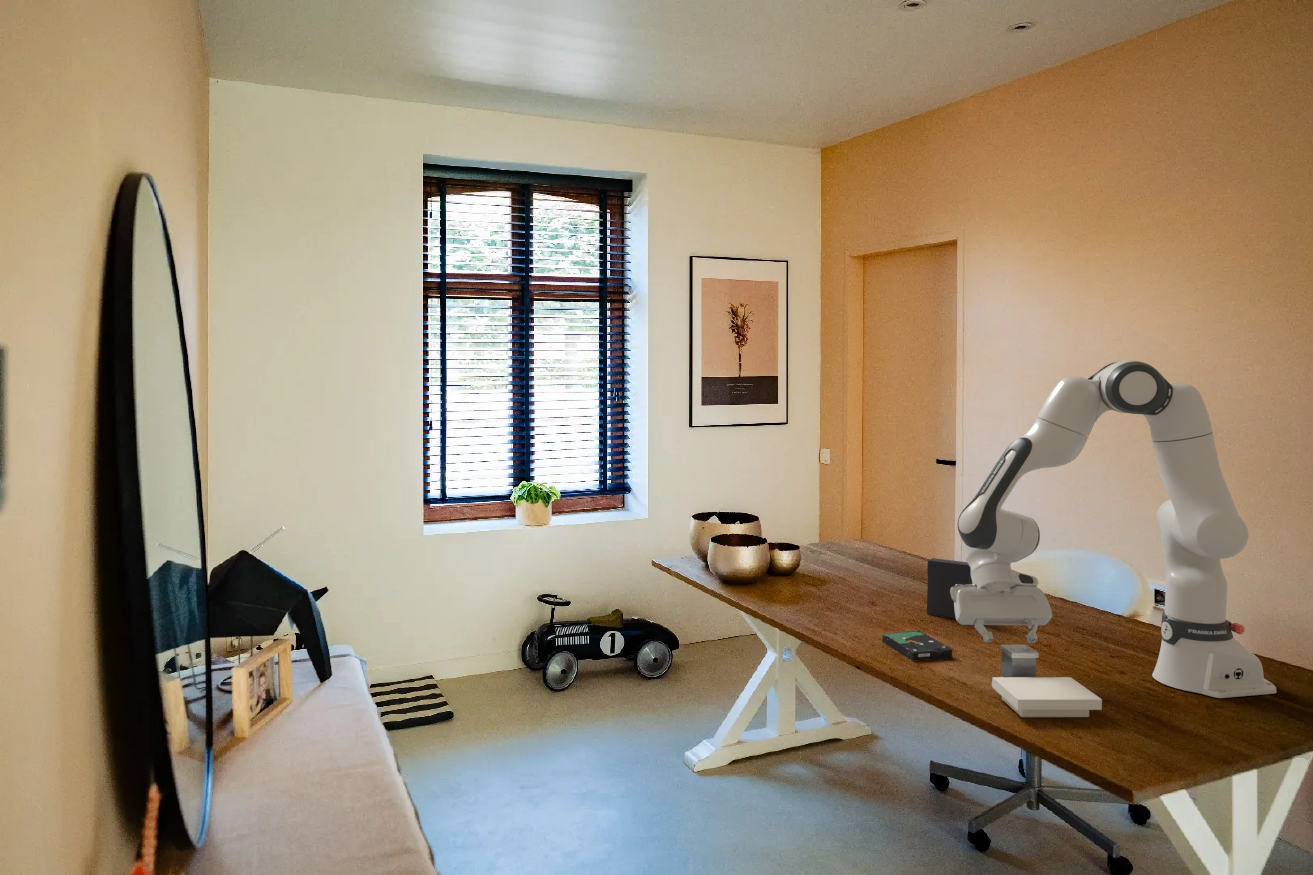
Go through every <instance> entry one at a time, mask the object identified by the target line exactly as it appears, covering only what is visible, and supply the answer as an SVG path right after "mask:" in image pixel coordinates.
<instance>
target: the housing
mask: <svg viewBox="0 0 1313 875" xmlns="http://www.w3.org/2000/svg"><path fill="white" fill-rule="evenodd" d="M999 648H1000V649H999V650H1001V674H1000V675H1001V676H1000V677H1037V674H1036V673H1037V672H1036V671H1037V659H1039V657H1040V656H1039V655H1040V654H1039V652H1038V651H1037V650H1034V648H1032V647H1031V646H1029V645H1028V644H999Z"/></svg>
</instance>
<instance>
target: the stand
mask: <svg viewBox="0 0 1313 875" xmlns="http://www.w3.org/2000/svg"><path fill="white" fill-rule="evenodd" d="M991 688H992V689H994V690H995V692H997V693H998V694H999V695H1000V696H1001V700H1002V701H1003V702H1004V703H1005V704H1007V705H1008V706H1009V707H1010V709H1012V710H1013V711H1014V712H1015V713H1017V715H1019V716H1020V717H1021V718H1089V717H1090V711H1102V709H1103V708H1102V707H1103V706H1102V705H1103V704H1102V703H1103V699H1102V698H1101V697H1099V696H1098V695H1096V694H1095V693H1093V692H1092V691H1091V690H1089V689H1088V688H1087V687H1085V686H1083V685H1082V684H1081V683H1079V682H1078V681H1076V680H1075V679H1074V678H1072V677H1071V676H1061V677H1060V676H1054V677H1051V676H1047V677H1046V676H1042V677H1041V676H1036V677H1001V676H998V677H997V676H996V677H994V676H993V677H992V679H991Z"/></svg>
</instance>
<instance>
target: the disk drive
mask: <svg viewBox="0 0 1313 875" xmlns="http://www.w3.org/2000/svg"><path fill="white" fill-rule="evenodd" d="M881 637H882V640H881V641H882V643H883V644H885V645H886V646H888V647H890V648H891V649H893V650H895V651H896V652H897V651H898V654H901V655H902V656H904V657H905V656H906V657H907V659H908V660H910V659H911V660H913V661H912V662H915V661H914V660H923V661H926V660H925V659H936V660H946V659H945V658H950V659H953V649H952V648H951V647H949V646H948V645H945V644H944V643H942V642H941V641H938V640H937V639H935V638H934V637H932V636H930V635H929V634H927V633H926V632H922V631H921V630H912V631H910V630H909V631H900V632H890V633H886V632H885V633H883V635H882V636H881ZM906 657H905V658H906ZM911 660H910V661H911Z"/></svg>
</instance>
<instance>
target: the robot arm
mask: <svg viewBox="0 0 1313 875" xmlns="http://www.w3.org/2000/svg"><path fill="white" fill-rule="evenodd" d="M1040 408H1041V409H1040V410H1039V413H1038V414H1037V416H1036V419H1035V421H1034V422H1033V424H1032V425H1031V426H1030V428H1029V429H1028V430H1027V431H1026V432H1025V434H1023V435H1022V436H1021V437H1020V438H1017V439H1015V440H1013V441H1012V442H1011V443H1010V444H1009V445H1008V446H1007V448H1006V449H1005V450H1004V451H1003V453H1002V454H1001V456H1000V457H999V459H998V460H997V462H996V463H995V465H994V466H993V468H992V469H991V472H989V474H988V476H987V477H986V478H985V480H984V482H983V484H982V485H981V486H980V488H979V490H978V491H977V493H976V495H975V496H974V497H973V499H971V501H970V502H969V503H968V504H967V505H966V506H965V507H964V509H962V511H961V512H960V514H959V516H958V518H957V530H958V534H959V536H960V538H961V541H962V548H963V552H964V553H963V554H964V556H965V557H964V558H965V560H966V561H965V562H967V563H968V565H969V566H970V568H971V579H972V584H967V585H961V584H957V585H955V586H953V587H952V588H951V589H950V594H951V598H952V600H953V601H954V609H955V616H956V619H955V620H956V622H957V623H959V625H963V626H965V625H967V626H968V625H969V626H973V625H974V629H975V631H977V632H978V633H979V634H980V635H981V636H982V638H983V642H984V643H993V641H994V636H993V632H992V631H988V629H987V628H986V627H985V626H1027V627H1028V629H1029V630H1030V631H1028V633H1027V634H1026V635H1025V636H1026V639H1027V643H1034V644H1035V643H1037V642H1038V635H1037V633H1036V632H1037V630H1038V628H1039V626H1046V625H1047V624H1048V623H1049V622H1050V621H1051V618H1052V617H1053V611H1052V608H1051V605H1050V603H1049V601H1048V599H1047V597H1046V594H1045V593H1044V591H1043V590H1042V589H1040V588H1039V587H1038V586H1039V581H1038V578H1037V577H1036V576H1033V575H1030V574H1026V573H1023V572H1019V571H1017V570H1015V569H1012V567H1011V564H1012V563H1017V562H1019V561H1021V560H1023V559H1025V558H1028V557H1029V556H1030V555H1032V554H1033V553H1034V552H1036V549H1037V548H1038V546H1039V544H1040V541H1041V540H1040V539H1041V533H1040V529H1039V528H1040V527H1039V526H1038V523H1037V522H1036V521H1035V519H1034V518H1032V517H1029V516H1027V515H1024V514H1020V513H1017V512H1014V511H1009V510H1006V509H1004V508H1002V506H1003V505H1004V503H1005V502H1006V500H1007V498H1008V497H1009V495H1010V494H1011V492H1012V491H1013V489H1014V488H1015V487H1016V485H1017V483H1018V481H1019V480H1020V479H1021V478H1022V477H1023V476H1024V475H1026V474H1027V473H1030V472H1032V471H1036V470H1040V469H1046V468H1047V469H1048V468H1057V467H1062V466H1064V465H1067V464H1070V463H1071V462H1073V461H1075V460H1076V459H1077V458H1078V456H1079V455H1080V454H1081V452H1082V451H1083V449H1084V448H1085V445H1086V443H1087V441H1088V439H1089V436H1090V434H1091V432H1092V430H1093V428H1094V426H1095V423H1096V422H1097V421H1098V419H1099V418H1100V417H1101V416H1102V415H1103V414H1104V413H1106V412H1108V411H1114V412H1116V413H1117V412H1118V413H1123V414H1130V415H1143V417H1145V419H1146V421H1147V424H1148V426H1149V430H1150V435H1151V441H1152V442H1151V443H1152V447H1153V452H1154V458H1155V463H1156V467H1157V472H1158V476H1159V479H1160V481H1161V482H1162V484H1163V486H1164V488H1165V490H1166V492H1167V494H1168V497H1169V499H1167V500H1165V501H1164V502H1163V503H1162V504H1161V505H1160V506H1159V507H1158V509H1157V512H1156V516H1155V520H1156V525H1157V528H1158V530H1159V533H1160V534H1159V535H1160V539H1161V540H1160V541H1161V551H1162V555H1163V557H1162V558H1163V562H1164V569H1165V570H1164V571H1165V592H1164V594H1165V595H1164V611H1162V614H1161V624H1160V635H1161V643H1160V644H1161V645H1160V648H1159V649H1160V650H1159V653H1158V657H1157V661H1156V664H1155V667H1154V670H1153V672H1152V678H1154V679H1155V680H1156V681H1157V682H1159V683H1161V684H1163V685H1166V686H1168V687H1171V688H1173V689H1174V688H1175V689H1178V690H1182V691H1187V692H1192V693H1197V694H1202V695H1204V696H1209V697H1212V698H1217V699H1226V698H1235V697H1236V698H1237V697H1238V698H1239V697H1247V696H1249V697H1250V696H1259V695H1261V696H1262V695H1271V694H1276V693H1277V692H1278V691H1277V687H1276V686H1275V685H1276V684H1275V685H1274V684H1273V683H1272V682H1271V681H1269V680H1268V679H1266V678H1264V677H1265V676H1264V669H1263V665H1262V664H1263V663H1262V662H1261V660H1260V659H1259V657H1257V656H1256V654H1254V653H1253V652H1252V651H1250V650H1249V649H1248V648H1246V646H1244V645H1243V644H1242V643H1240V642H1239V641H1238V640H1237V639H1235V637H1234V634H1233V633H1236V634H1237V635H1243V634H1244V633H1245V631H1246V627H1245V626H1244V625H1243V624H1241V623H1238V622H1233V623H1232V622H1231V621H1229V620H1228V619H1227V601H1228V600H1227V599H1228V581H1227V579H1226V577H1225V574H1224V570H1223V568H1222V561H1221V559H1229V558H1230V559H1231V558H1232V557H1235V556H1237V555H1239V553H1241V552H1242V551H1243V550H1244V549H1245V547H1246V546H1247V544H1248V541H1249V529H1248V526H1247V525H1246V523H1245V521H1244V520H1243V519H1242V517H1241V515H1240V514H1239V512H1238V510H1237V508H1236V505H1235V502H1234V499H1233V496H1232V494H1231V492H1230V490H1229V488H1228V485H1227V483H1226V481H1225V477H1224V475H1223V472H1222V470H1221V466H1220V461H1219V457H1218V451H1217V447H1216V442H1215V436H1214V432H1213V426H1212V423H1211V419H1210V415H1209V413H1208V410H1207V406H1206V404H1205V401H1204V400H1203V397H1202V395H1201V393H1200V391H1199V390H1198V388H1196V387H1195V386H1193V385H1191V384H1188V383H1182V382H1181V383H1180V382H1179V383H1177V382H1176V383H1170V382H1169V380H1167V379H1166V378H1165V377H1164V376H1163V375H1162V373H1161V372H1160V371H1159V370H1158V369H1156V368H1155V367H1154V366H1153V365H1150V364H1149V363H1147V362H1142V361H1137V360H1132V359H1123V360H1120V361H1115V362H1112V363H1109V364H1107V365H1105V366H1103V367H1102V368H1100V369H1099V370H1098V371H1097V372H1095V373H1093V374H1092V375H1091V376H1090V377H1088V378H1086V377H1083V376H1066V377H1064V378H1061V380H1059V381H1058V382H1057V383H1056V384H1055V386H1054V387H1053V389H1052V390H1051V392H1049V394H1048V396H1047V398H1046V400H1045V401H1044V402H1043V405H1042V406H1041V407H1040Z"/></svg>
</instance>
